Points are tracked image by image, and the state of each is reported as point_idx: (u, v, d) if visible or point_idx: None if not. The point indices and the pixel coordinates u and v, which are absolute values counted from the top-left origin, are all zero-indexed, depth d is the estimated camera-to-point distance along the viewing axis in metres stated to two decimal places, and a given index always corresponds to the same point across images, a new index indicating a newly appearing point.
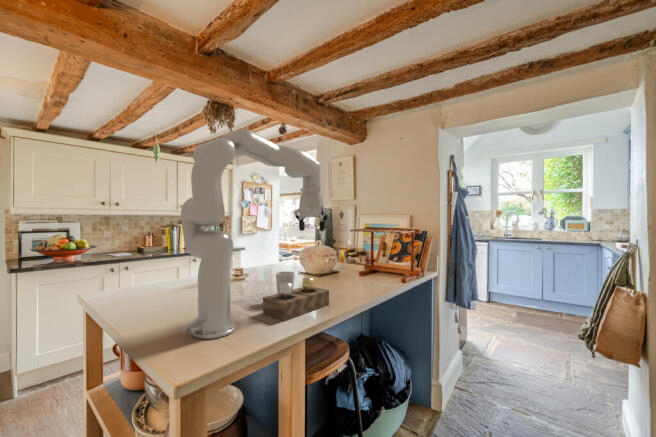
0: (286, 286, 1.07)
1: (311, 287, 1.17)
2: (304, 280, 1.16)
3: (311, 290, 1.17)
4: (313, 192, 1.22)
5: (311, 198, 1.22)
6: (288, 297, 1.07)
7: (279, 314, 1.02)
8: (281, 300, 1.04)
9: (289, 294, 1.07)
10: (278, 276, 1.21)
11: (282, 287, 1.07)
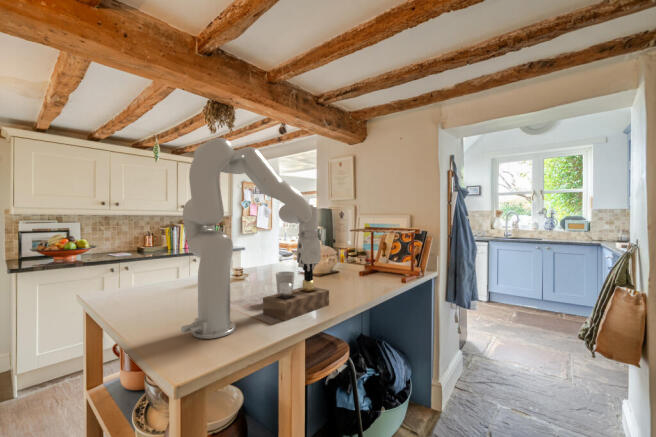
0: (286, 286, 1.07)
1: (311, 289, 1.17)
2: (304, 282, 1.16)
3: (311, 292, 1.17)
4: (317, 237, 1.18)
5: (315, 243, 1.17)
6: (288, 297, 1.07)
7: (279, 314, 1.02)
8: (281, 300, 1.04)
9: (289, 294, 1.07)
10: (278, 276, 1.21)
11: (282, 287, 1.07)
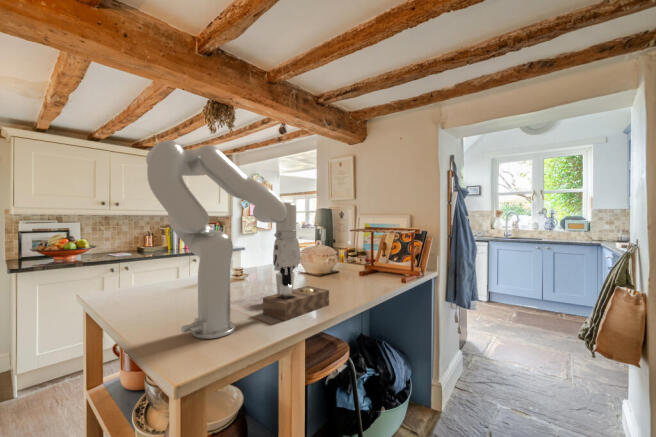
0: (286, 287, 1.07)
1: None
2: (304, 291, 1.17)
3: None
4: None
5: (294, 245, 1.08)
6: (288, 298, 1.07)
7: (279, 314, 1.02)
8: (281, 300, 1.04)
9: (289, 295, 1.07)
10: (278, 276, 1.21)
11: (282, 288, 1.07)
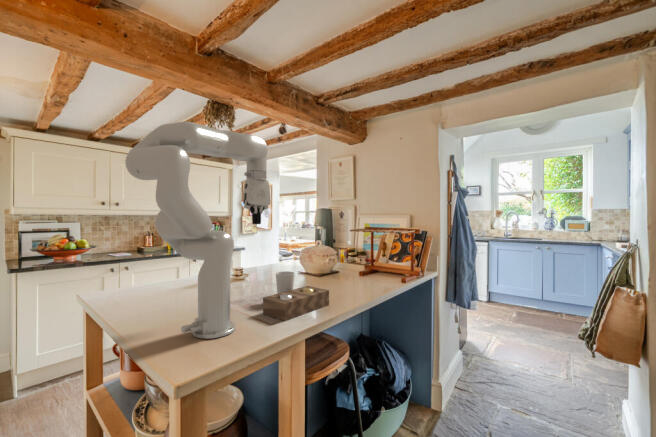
0: (286, 298, 1.07)
1: None
2: (304, 291, 1.17)
3: None
4: None
5: (263, 185, 1.13)
6: None
7: (279, 314, 1.02)
8: (281, 300, 1.04)
9: None
10: (278, 276, 1.21)
11: None
